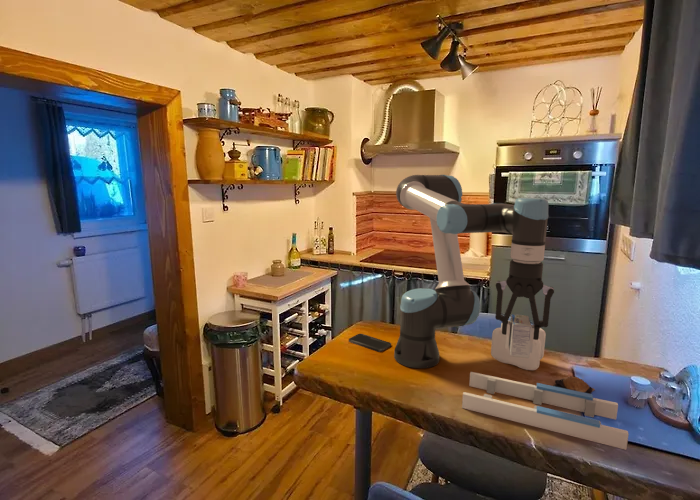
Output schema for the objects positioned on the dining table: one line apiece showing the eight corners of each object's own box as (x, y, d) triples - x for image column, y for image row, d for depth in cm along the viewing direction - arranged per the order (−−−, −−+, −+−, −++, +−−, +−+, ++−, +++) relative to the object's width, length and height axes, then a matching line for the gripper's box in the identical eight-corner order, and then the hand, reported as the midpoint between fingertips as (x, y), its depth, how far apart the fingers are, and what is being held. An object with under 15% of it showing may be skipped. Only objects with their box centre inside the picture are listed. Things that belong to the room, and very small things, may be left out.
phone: (380, 350, 133) (347, 339, 142) (380, 353, 133) (347, 342, 142) (392, 343, 139) (360, 332, 148) (392, 346, 139) (360, 335, 148)
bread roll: (570, 379, 117) (571, 368, 116) (598, 393, 109) (599, 381, 109) (547, 387, 112) (548, 376, 111) (575, 402, 104) (576, 389, 104)
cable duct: (461, 408, 100) (462, 392, 99) (470, 383, 113) (471, 368, 112) (626, 451, 85) (629, 432, 84) (615, 416, 97) (617, 399, 96)
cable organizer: (545, 362, 126) (549, 329, 124) (536, 374, 118) (540, 339, 116) (500, 349, 136) (503, 318, 134) (489, 359, 128) (491, 327, 126)
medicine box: (529, 359, 94) (532, 326, 92) (509, 356, 95) (513, 323, 94) (525, 346, 101) (529, 315, 100) (507, 343, 103) (510, 313, 101)
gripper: (486, 259, 95) (480, 347, 99) (568, 267, 87) (558, 361, 91) (490, 254, 101) (484, 336, 105) (566, 261, 93) (557, 349, 98)
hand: (518, 348), depth 98 cm, fingers closed on medicine box, 5 cm apart
